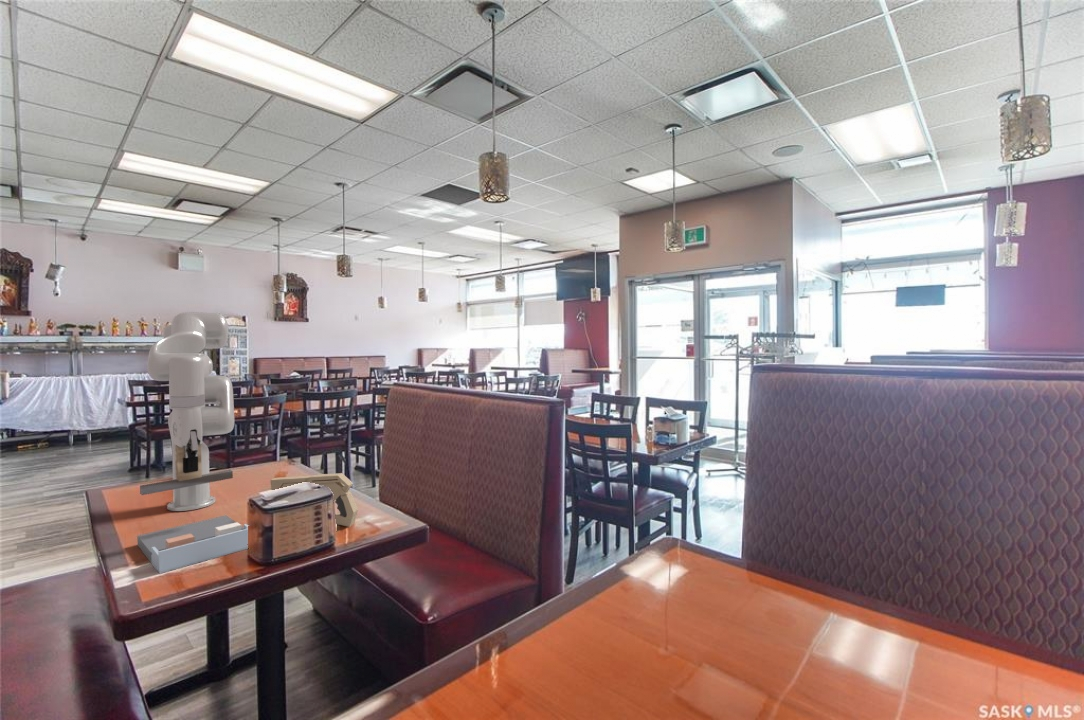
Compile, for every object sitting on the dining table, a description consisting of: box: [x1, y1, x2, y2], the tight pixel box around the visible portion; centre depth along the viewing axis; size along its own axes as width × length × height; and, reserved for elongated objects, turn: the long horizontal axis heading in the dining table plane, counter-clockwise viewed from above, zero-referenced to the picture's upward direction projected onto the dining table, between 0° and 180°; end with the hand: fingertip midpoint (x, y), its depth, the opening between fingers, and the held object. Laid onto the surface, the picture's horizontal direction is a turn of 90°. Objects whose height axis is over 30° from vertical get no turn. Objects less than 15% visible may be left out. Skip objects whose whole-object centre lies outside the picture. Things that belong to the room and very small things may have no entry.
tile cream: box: [215, 521, 242, 537], centre depth 124 cm, size 5×5×3 cm
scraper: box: [139, 443, 234, 496], centre depth 129 cm, size 3×20×11 cm, turn 140°
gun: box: [269, 472, 359, 528], centre depth 141 cm, size 24×3×15 cm, turn 84°
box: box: [150, 523, 249, 574], centre depth 120 cm, size 8×20×5 cm, turn 139°
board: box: [136, 514, 244, 563], centre depth 128 cm, size 15×20×2 cm
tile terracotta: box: [166, 534, 194, 549], centre depth 116 cm, size 5×5×3 cm
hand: (188, 469), depth 129 cm, fingers closed on scraper, 3 cm apart
